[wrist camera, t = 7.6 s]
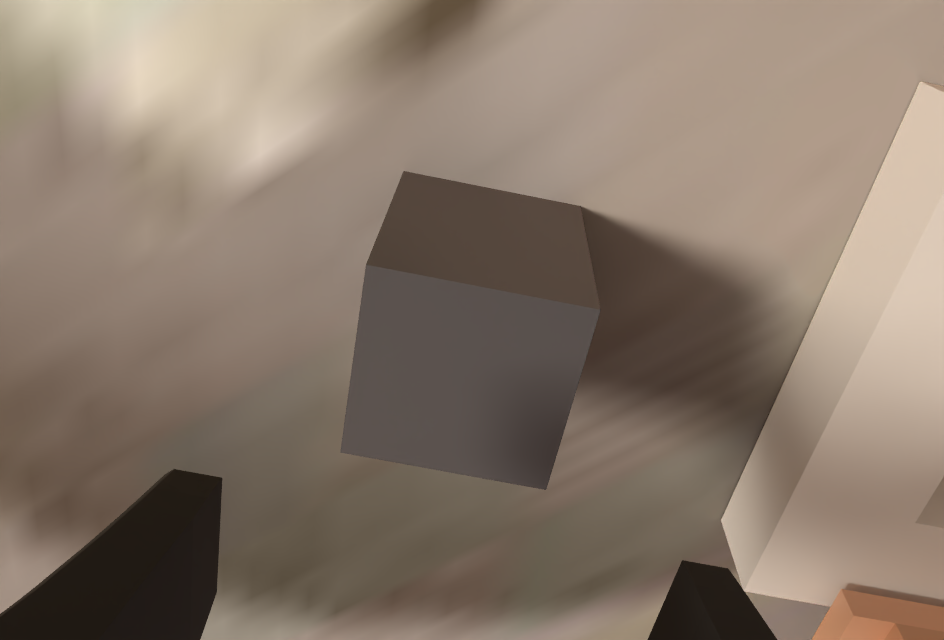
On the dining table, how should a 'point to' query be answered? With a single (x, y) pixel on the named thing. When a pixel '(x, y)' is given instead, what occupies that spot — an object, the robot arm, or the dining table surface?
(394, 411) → the grey block
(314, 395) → the dining table surface
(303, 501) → the dining table surface
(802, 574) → the socket
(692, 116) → the dining table surface
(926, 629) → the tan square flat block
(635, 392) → the dining table surface
